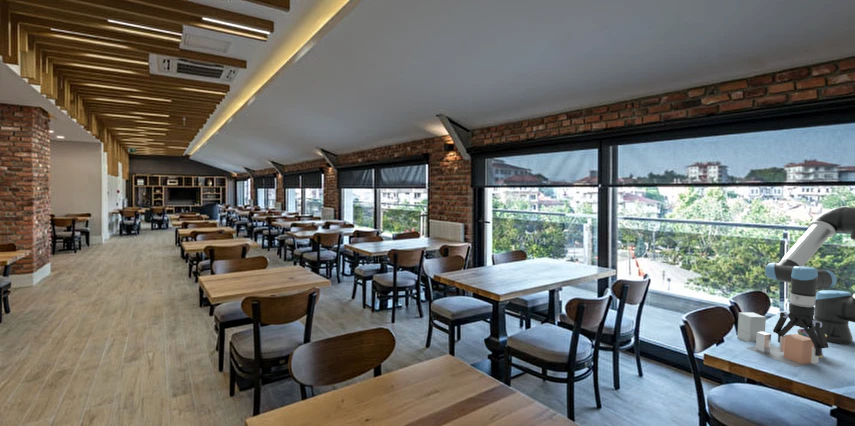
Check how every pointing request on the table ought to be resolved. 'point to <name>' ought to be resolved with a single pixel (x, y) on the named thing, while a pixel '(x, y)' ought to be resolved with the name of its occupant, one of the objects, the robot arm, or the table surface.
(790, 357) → the peach tan brick
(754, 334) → the supplement box
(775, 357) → the board
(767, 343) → the post
